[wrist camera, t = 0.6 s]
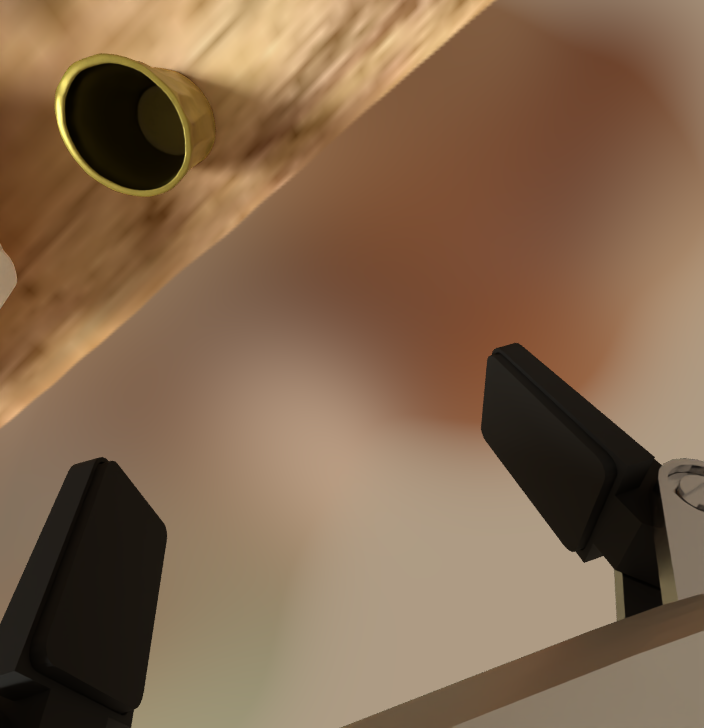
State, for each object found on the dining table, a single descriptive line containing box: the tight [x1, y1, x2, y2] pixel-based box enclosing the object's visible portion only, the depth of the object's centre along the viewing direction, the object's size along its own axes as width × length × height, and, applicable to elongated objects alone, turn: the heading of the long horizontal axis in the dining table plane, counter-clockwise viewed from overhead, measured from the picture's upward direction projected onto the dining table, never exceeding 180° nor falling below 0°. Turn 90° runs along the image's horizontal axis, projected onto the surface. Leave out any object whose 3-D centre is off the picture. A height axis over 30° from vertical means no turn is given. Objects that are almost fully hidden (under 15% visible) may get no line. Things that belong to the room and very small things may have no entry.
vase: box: [54, 53, 216, 197], centre depth 22 cm, size 6×6×14 cm
